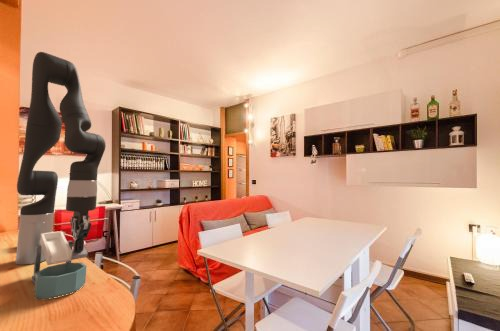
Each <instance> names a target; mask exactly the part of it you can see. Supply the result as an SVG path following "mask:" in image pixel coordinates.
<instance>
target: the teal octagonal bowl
mask: <svg viewBox="0 0 500 331" xmlns="http://www.w3.org/2000/svg"><path fill="white" fill-rule="evenodd" d="M86 276H87V265H86V264H85V263H84V262H71V263H66V262H63V263H58V264H53V265H48V266H47V267H45V268H42V269H40V271H38V272H36V275H35V285H33V287H34V289H33V292H34V298H35V297H36V298H35V299H37V300H41V299H48V300H50V299H49V298H54V297H58V296H62V295H66V294H70V293H72V292H75V291H77V290H79V289H80V288H81V287H82V286H83V287H84V285H85V284H86V280H87V279H86V278H87V277H86ZM83 287H82V288H83ZM82 288H81V289H82ZM81 289H80V290H81ZM80 290H79V291H80ZM77 292H78V291H77ZM75 293H76V292H75ZM70 295H71V294H70Z"/></svg>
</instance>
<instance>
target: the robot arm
mask: <svg viewBox="0 0 500 331" xmlns="http://www.w3.org/2000/svg"><path fill="white" fill-rule="evenodd" d="M49 83H50V84H54V85H58V86H62V87H65V89H66V93H65V96H63V98H62V99H61V100H60V103H59V112H58V111H57V109H56V107H55V105H54V104H53V102H52V100H51V98H50V94H49ZM59 113H60V114H59ZM63 124H64V139H63V140H64V146H65V148H66V149H67V150H68V151H69V152H71V153H75V154H81V155H85V157H84V159H83V160H79V161H77V160H76V161H74V162H72V163H71V164H70V166H69V167H70V168H69V180H68V185H67V189H66V190H67V191H66V203H65V211H67V212H73V216H71V217H70V220H69V223H70V231H71V237H72V239H73V246H72V249H73V251H74V252H75V253H77V252H82V251H83V248H85V247H84V245H85V239H87V238H88V236H89V233H90V229H91V227H92V222H91V216H89V215H90V214H89V212H90V211H95V210H96V209H97V198H98V197H97V196H98V170H99V169H98V168H99V167H100V164H101V161H102V158H103V155H104V153H105V151H106V141H105V139H104V137H103V136H102V135H100V134H96V133H93V132H92V133H91V132H87V131H89V130H90V129H91V128H92V122H91V118H90V116H89V114H88V111H87V108H86V106H85V103H84V100H83V93H82V86H81V82H80V78H79V73H78V70H77V67H76V65H75V64H74V63H73V62H71V61H69V60H68V59H64V58H62V57H61V58H60V57H59V56H55V55H53V54H50V53H47V52H44V51H39V52H37V53H36V54H35V55H34V58H33V62H32V73H31V95H30V103H29V109H28V114H27V121H26V128H25V138H24V147H23V148H24V149H23V154H22V158H21V164H20V169H19V173H18V178H17V183H16V191H17V193H18V195H20V196H43V197H42V198H41V199H39V200H37V201H34V202H32V203H29V204H25V205H23V206H22V207H20V215H19V222H18V223H19V224H18V235H17V244H16V245H17V246H16V257H15V264H16V265H31V264H32V265H33V264H34V263H35V252H36V246H38V245H41V244H40V237H41V233H49V232H53V228H54V217H55V206H56V196H57V189H58V183H59V182H58V181H59V180H58V178H59V177H58V174H57V172H55V171H53V170H51V171H50V170H34V168H35V166H36V164H37V163H38V162H39V160H40V159H41V158H42V157H43V156H44V155H45V154H46V153H48V152H49V151H50V150H51V149H52V148H53V147H54V146H56V145H57V144H58V142H59V141H60V138H61V133H62V126H63ZM41 250H42V249H41ZM44 261H46V259H45V256H44V255H43V254H42V251H41V261H40V263H41V262H44Z"/></svg>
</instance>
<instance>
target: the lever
mask: <svg viewBox="0 0 500 331" xmlns="http://www.w3.org/2000/svg"><path fill="white" fill-rule="evenodd" d="M67 241H68V240H67V238H66V236H65V234H64V233H63V230H60V231H58V230H57V231H52V232H49V233H41V237H40V244H41V246H42V250H41V251H42V254H43V255H44V256H45V259H46V260H45V261H46V265H47V266H53V265H58V264H62V263H66V261H71V262H72V261H73V260H79V259H84V258H87V257H88V252H87V250H86V248H85V247H83V251H82V252H77V253H75V252H74V251H73V248H72V250H71V248H70V246H69V244H68V242H67Z"/></svg>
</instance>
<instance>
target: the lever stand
mask: <svg viewBox="0 0 500 331" xmlns="http://www.w3.org/2000/svg"><path fill="white" fill-rule="evenodd" d="M67 242H68V244H69V246H70V248H71V250H72V249H73V247H74V240H67ZM41 249H42V246H41V245H38V246H36V252H35V263H33V264H34V266H33V275H31V281H32V284H33V286H35V275H36V272H38V271H40V270H41V262H40V261H41ZM65 263H72V260H71V261H66V262H65Z"/></svg>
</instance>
